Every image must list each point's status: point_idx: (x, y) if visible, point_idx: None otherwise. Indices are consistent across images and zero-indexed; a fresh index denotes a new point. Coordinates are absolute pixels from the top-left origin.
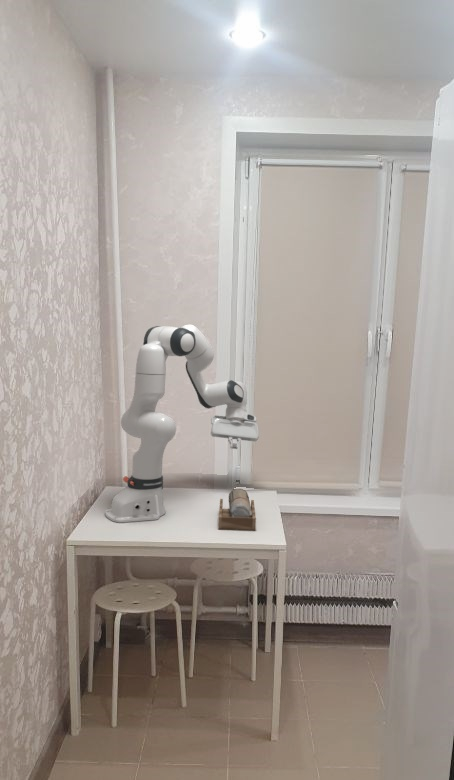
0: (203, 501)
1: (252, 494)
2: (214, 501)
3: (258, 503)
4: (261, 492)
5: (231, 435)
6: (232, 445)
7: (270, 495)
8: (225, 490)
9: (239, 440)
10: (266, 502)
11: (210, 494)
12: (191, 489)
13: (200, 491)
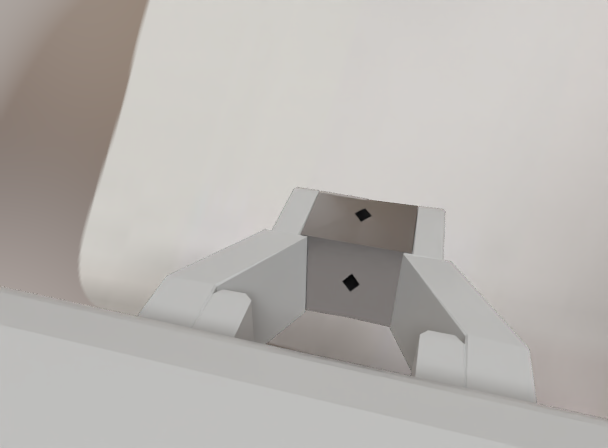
0: (590, 117)
1: (210, 222)
2: (512, 106)
3: (231, 21)
4: (138, 257)
5: (469, 393)
6: (413, 216)
7: (101, 181)
8: (365, 344)
9: (208, 274)
10: (173, 35)
11: (496, 270)
12: (601, 412)
13: (548, 353)
